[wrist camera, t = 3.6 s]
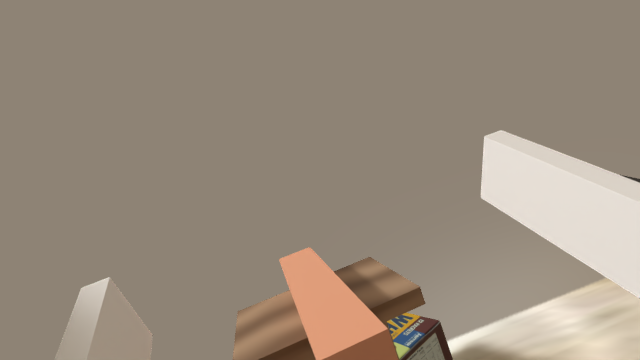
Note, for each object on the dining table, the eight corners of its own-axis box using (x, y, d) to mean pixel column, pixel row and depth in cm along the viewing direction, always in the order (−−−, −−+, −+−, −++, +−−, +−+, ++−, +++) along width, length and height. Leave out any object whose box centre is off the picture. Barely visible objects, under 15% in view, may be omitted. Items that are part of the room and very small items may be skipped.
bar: (405, 381, 18) (387, 328, 18) (336, 415, 17) (317, 361, 17) (317, 269, 41) (309, 247, 41) (287, 282, 40) (278, 259, 40)
